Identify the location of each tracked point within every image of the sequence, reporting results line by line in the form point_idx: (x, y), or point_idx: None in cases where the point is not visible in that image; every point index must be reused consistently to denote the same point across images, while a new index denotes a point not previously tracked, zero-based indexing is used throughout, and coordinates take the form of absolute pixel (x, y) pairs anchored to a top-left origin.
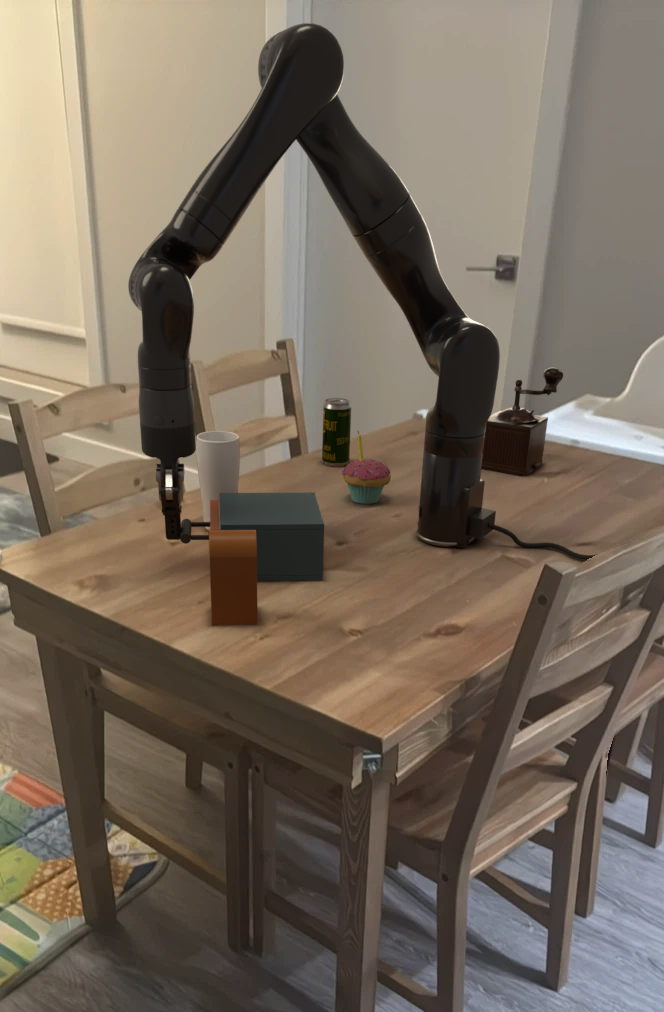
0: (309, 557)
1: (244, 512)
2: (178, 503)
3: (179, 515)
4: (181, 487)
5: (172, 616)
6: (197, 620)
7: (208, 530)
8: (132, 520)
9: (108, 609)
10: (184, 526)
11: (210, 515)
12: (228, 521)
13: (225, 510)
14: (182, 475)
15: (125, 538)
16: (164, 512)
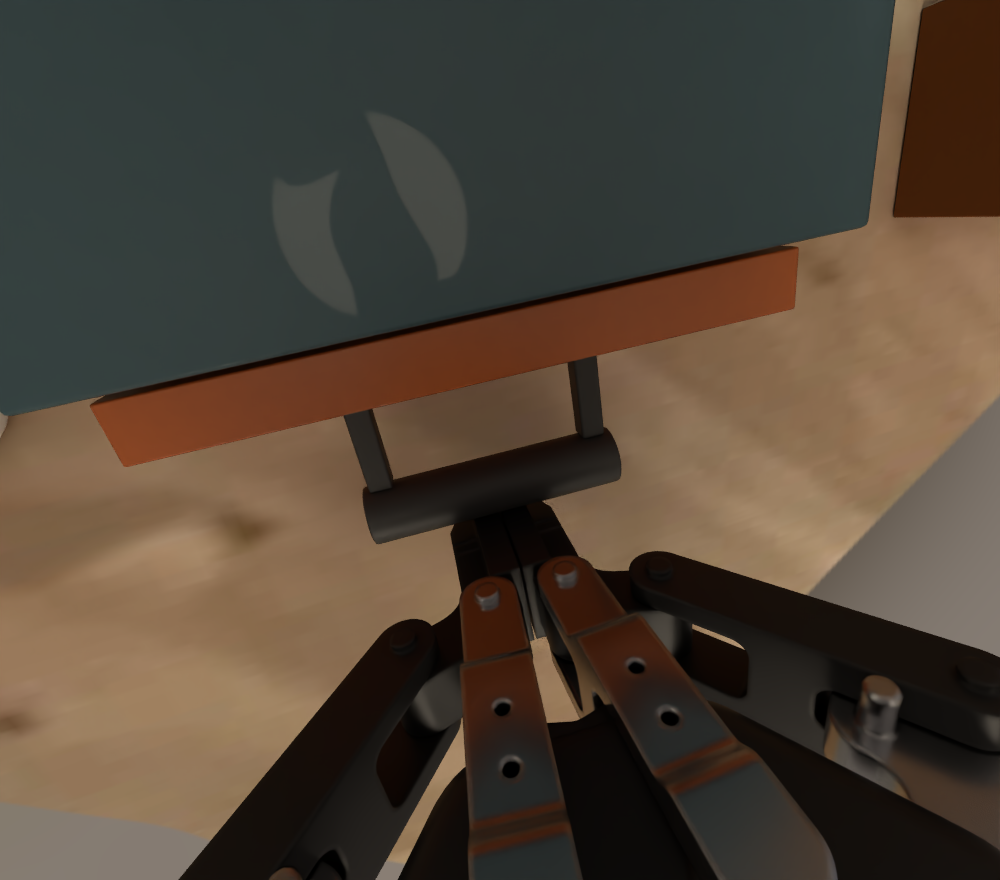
0: None
1: (568, 21)
2: (826, 603)
3: (552, 561)
4: (706, 703)
5: (913, 346)
6: (960, 254)
7: (2, 431)
8: (32, 750)
9: (834, 534)
10: (502, 503)
11: (514, 373)
12: (810, 167)
13: (531, 248)
14: (809, 824)
15: (254, 696)
16: (697, 637)
